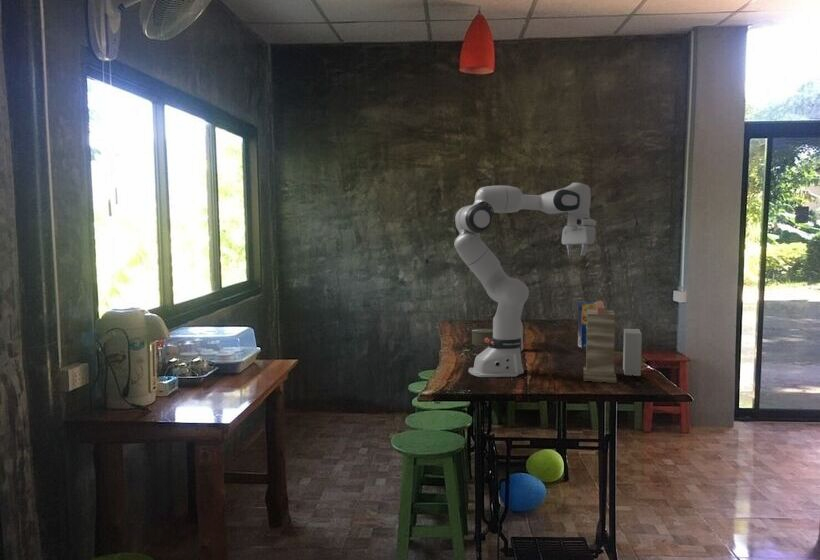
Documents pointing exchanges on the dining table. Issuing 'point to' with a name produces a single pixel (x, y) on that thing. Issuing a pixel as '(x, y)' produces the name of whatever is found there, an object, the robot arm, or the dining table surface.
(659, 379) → the dining table surface
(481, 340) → the can
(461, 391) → the dining table surface
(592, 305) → the beverage box
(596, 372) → the stand
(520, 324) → the milk bottle
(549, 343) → the dining table surface
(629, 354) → the seat block
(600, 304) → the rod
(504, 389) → the dining table surface
